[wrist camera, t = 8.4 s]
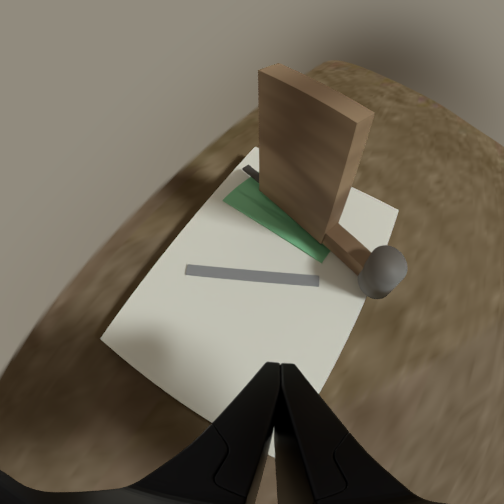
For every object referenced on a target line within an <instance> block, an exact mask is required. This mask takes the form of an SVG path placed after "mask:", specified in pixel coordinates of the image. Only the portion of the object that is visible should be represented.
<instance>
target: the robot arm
mask: <svg viewBox="0 0 504 504" xmlns="http://www.w3.org/2000/svg"><path fill="white" fill-rule="evenodd" d="M273 429H274V448H275V464H276V480H277V497H278V504H446V503H438V502H432V501H428V500H425V499H423V498H421V497H419V496H417V495H415V494H414V493H412V492H411V491H410V490H408V489H407V488H406V487H405V486H404V485H403V484H401V483H400V482H399V481H398V480H397V479H396V478H394V477H393V476H392V475H391V474H390V473H389V472H388V471H386V470H385V469H384V468H383V467H382V466H381V465H380V464H379V463H378V462H377V461H375V460H374V459H373V458H372V457H371V456H370V455H369V454H368V453H367V452H366V451H365V450H364V448H363V447H362V446H361V445H360V444H359V443H358V442H357V441H356V439H355V438H354V437H353V436H352V435H351V433H349V431H348V430H347V429H346V427H345V426H344V425H343V424H342V422H341V421H340V420H339V419H338V418H337V416H336V415H335V414H334V413H333V411H332V410H331V409H330V408H329V406H328V405H327V404H326V403H325V401H324V400H323V399H322V398H321V396H320V395H319V394H318V393H317V391H316V390H315V389H314V388H313V386H312V385H311V384H310V383H309V381H308V380H307V379H306V378H305V376H304V375H303V374H302V372H301V371H300V370H299V369H298V367H297V366H296V365H295V364H293V363H281V364H280V363H278V362H266V363H265V364H264V365H263V366H262V367H261V368H260V370H259V371H258V372H257V373H256V374H255V375H254V377H253V378H252V379H251V380H250V381H249V382H248V384H247V385H246V386H245V387H244V388H243V389H242V390H241V392H240V393H239V394H238V395H237V396H236V397H235V398H234V399H233V401H232V402H231V403H230V404H229V405H228V406H227V407H226V408H225V409H224V410H223V412H222V413H221V414H220V415H219V416H218V417H217V418H216V419H215V420H214V421H213V422H212V425H209V426H208V428H207V429H206V430H205V431H204V432H203V433H202V434H201V435H200V436H199V437H198V438H197V439H195V440H194V441H193V442H192V443H191V444H190V445H189V446H188V447H186V448H185V449H184V450H182V451H181V452H180V453H179V454H177V455H176V456H175V457H173V458H172V459H171V460H169V461H168V462H166V463H165V464H163V465H162V466H161V467H159V468H158V469H156V470H155V471H153V472H152V473H150V474H149V475H147V476H146V477H144V478H143V479H141V480H140V481H138V482H136V483H134V484H132V485H129V486H127V487H123V488H119V489H111V490H100V491H86V492H44V491H39V490H35V489H32V488H29V487H26V486H24V485H22V484H21V483H19V482H17V481H16V480H14V479H13V478H12V477H10V476H9V475H7V474H6V473H4V472H3V471H1V470H0V504H255V501H256V497H257V493H258V490H259V486H260V482H261V479H262V475H263V471H264V467H265V463H266V460H267V456H268V452H269V448H270V443H271V439H272V435H273Z"/></svg>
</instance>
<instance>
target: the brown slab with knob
mask: <svg viewBox="0 0 504 504" xmlns="http://www.w3.org/2000/svg"><path fill="white" fill-rule="evenodd" d="M258 90H259V91H258V92H259V94H258V95H259V172H257V171H256V170H255V169H254V168H252V167H251V166H250V165H247V166H245V167H243V168H242V170H243V171H244V172H246V173H247V174H248V175H249V176H251V177H252V178H253V179H254V180H255V181H257V182H258V183H259V191H261V192H262V193H263V194H264V195H265V196H267V197H268V198H269V199H270V200H271V201H272V202H274V203H275V204H276V205H277V206H278V207H279V208H281V209H282V210H283V211H284V212H285V213H286V214H287V215H289V216H290V217H291V218H292V219H293V220H294V221H295V222H297V223H298V224H299V225H300V226H301V227H302V228H303V229H305V230H306V231H307V232H308V233H309V234H310V235H311V236H312V237H313V238H315V239H316V240H317V241H318V242H319V243H320V244H322V243H323V244H324V245H325V246H326V247H327V248H328V249H329V250H330V251H331V252H332V253H334V254H335V255H336V256H337V257H338V258H339V259H340V260H341V261H342V262H343V263H344V264H345V265H347V266H348V267H349V268H350V269H351V270H352V271H353V272H354V273H355V274H356V275H357V276H358V285H359V287H360V289H361V291H362V292H363V293H364V294H365V295H366V296H368V297H370V298H373V299H381V298H384V297H386V296H387V295H388V294H389V293H390V292H391V291H392V290H393V289H394V288H395V287H396V286H397V285H398V284H399V283H400V282H401V281H402V280H403V278H404V277H405V276H406V273H407V262H406V260H405V258H404V256H403V255H402V253H401V252H400V251H399V250H397V249H396V248H394V247H391V246H387V245H383V246H379V247H377V248H375V249H374V250H373V251H372V252H370V251H369V250H368V249H367V248H366V247H365V246H364V245H363V244H362V243H360V242H359V241H358V240H357V239H356V238H355V237H354V236H353V235H351V234H350V233H349V232H348V231H347V230H346V229H344V228H343V227H342V226H341V225H340V224H339V220H340V217H341V215H342V212H343V209H344V206H345V204H346V201H347V198H348V195H349V192H350V189H351V186H352V184H353V181H354V178H355V175H356V172H357V169H358V166H359V163H360V160H361V156H362V153H363V150H364V147H365V144H366V141H367V137H368V134H369V131H370V128H371V124H372V121H373V118H374V114H375V113H374V112H372V111H371V110H369V109H367V108H366V107H364V106H362V105H361V104H359V103H357V102H356V101H354V100H352V99H350V98H349V97H347V96H345V95H343V94H341V93H339V92H338V91H336V90H334V89H332V88H330V87H328V86H326V85H324V84H322V83H320V82H318V81H316V80H314V79H312V78H310V77H308V76H306V75H304V74H302V73H300V72H298V71H295V70H293V69H291V68H289V67H286V66H284V65H282V64H279V63H277V64H274V65H271V66H269V67H266V68H263V69H260V70H258Z"/></svg>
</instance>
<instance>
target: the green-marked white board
mask: <svg viewBox="0 0 504 504" xmlns="http://www.w3.org/2000/svg"><path fill="white" fill-rule="evenodd" d="M247 165H250V166H251V167H252V168H254V169H255V170H256V171H257V172H259V148H257V147H254V148H253V149H252V151H251V152H250V153H249V154H248V155H247V156H246V157H245V158H244V159H243V160H242V162H241V163H240V164H239V165H238V166H237V167H236V168H235V169H234V170H233V172H232V173H231V174H230V175H229V176H228V177H227V178H226V179H225V181H224V182H223V183H222V184H221V185H220V186H219V187H218V189H217V190H216V191H215V192H214V193H213V194H212V195H211V197H210V198H209V199H208V200H207V201H206V202H205V204H204V205H203V206H202V207H201V208H200V210H199V211H198V212H197V213H196V214H195V215H194V217H193V218H192V219H191V220H190V221H189V223H188V224H187V225H186V226H185V228H184V229H183V230H182V231H181V232H180V234H179V235H178V236H177V237H176V239H175V240H174V241H173V242H172V244H171V245H170V246H169V247H168V248H167V250H166V251H165V252H164V254H163V255H162V256H161V257H160V259H159V260H158V261H157V262H156V264H155V265H154V266H153V268H152V269H151V270H150V271H149V273H148V274H147V275H146V277H145V278H144V279H143V281H142V282H141V283H140V284H139V286H138V287H137V288H136V290H135V291H134V292H133V294H132V295H131V296H130V298H129V299H128V301H127V302H126V303H125V305H124V306H123V307H122V309H121V310H120V311H119V313H118V314H117V316H116V317H115V318H114V320H113V321H112V323H111V324H110V325H109V327H108V328H107V330H106V331H105V332H104V334H103V335H102V337H101V338H100V339H101V340H102V341H103V342H104V343H105V344H107V345H108V346H109V347H110V348H111V349H112V350H113V351H115V352H116V353H117V354H118V355H119V356H121V357H122V358H123V359H124V360H125V361H127V362H128V363H129V364H130V365H131V366H133V367H134V368H135V369H136V370H138V371H139V372H140V373H141V374H143V375H144V376H145V377H147V378H148V379H149V380H151V381H152V382H153V383H154V384H156V385H157V386H159V387H160V388H161V389H163V390H164V391H165V392H167V393H168V394H169V395H171V396H172V397H174V398H175V399H177V400H178V401H179V402H181V403H182V404H184V405H185V406H187V407H188V408H190V409H191V410H193V411H194V412H196V413H197V414H199V415H200V416H202V417H204V418H205V419H207V420H208V421H210V422H211V423H212V422H213V421H214V420H215V419H216V418H217V417H218V416H219V415H220V414H221V413H222V412H223V410H224V409H225V408H226V407H227V406H228V405H229V404H230V403H231V402H232V401H233V399H234V398H235V397H236V396H237V395H238V394H239V393H240V392H241V390H242V389H243V388H244V387H245V386H246V385H247V384H248V382H249V381H250V380H251V379H252V378H253V377H254V375H255V374H256V373H257V372H258V371H259V370H260V368H261V367H262V366H263V365H264V364H265V363H266V362H278V363H280V364H281V363H293V364H295V365H296V366H297V367H298V369H299V370H300V371H301V372H302V374H303V375H304V376H305V378H306V379H307V380H308V381H309V383H310V384H311V385H312V386H313V388H314V389H315V390H316V391H317V393H318V394H319V393H320V391H321V389H322V387H323V385H324V384H325V382H326V380H327V378H328V376H329V374H330V372H331V371H332V369H333V367H334V365H335V363H336V361H337V359H338V357H339V355H340V353H341V351H342V349H343V347H344V345H345V343H346V341H347V339H348V337H349V334H350V332H351V330H352V328H353V326H354V324H355V322H356V319H357V317H358V315H359V313H360V311H361V308H362V306H363V304H364V301H365V299H366V297H367V296H366V295H365V294H364V293H363V292H362V291H361V289H360V287H359V285H358V276H357V275H356V274H355V273H354V272H353V271H352V270H351V269H350V268H349V267H348V266H347V265H345V264H344V263H343V262H342V261H341V260H340V259H339V258H338V257H337V256H336V255H335V254H334V253H332V252H331V251H330V250H329V249H328V248H327V247H326V246H325V245H324V244H323V243H322V244H320V243H319V242H318V241H317V240H316V239H315V238H313V237H312V236H311V235H310V234H309V233H308V232H307V231H306V230H305V229H303V228H302V227H301V226H300V225H299V224H298V223H297V222H295V221H294V220H293V219H292V218H291V217H290V216H289V215H287V214H286V213H285V212H284V211H283V210H282V209H281V208H279V207H278V206H277V205H276V204H275V203H274V202H272V201H271V200H270V199H269V198H268V197H267V196H265V195H264V194H263V193H262V192H261V191H259V183H258V182H257V181H255V180H254V179H253V178H252V177H251V176H249V175H248V174H247V173H246V172H244V171H243V170H242V168H243V167H245V166H247ZM398 211H399V210H397V209H395V208H393V207H391V206H389V205H387V204H385V203H383V202H381V201H379V200H377V199H375V198H373V197H371V196H369V195H367V194H365V193H363V192H361V191H359V190H357V189H355V188H352V187H351V189H350V192H349V195H348V198H347V201H346V204H345V206H344V209H343V212H342V215H341V217H340V220H339V224H340V225H341V226H342V227H343V228H344V229H346V230H347V231H348V232H349V233H350V234H351V235H353V236H354V237H355V238H356V239H357V240H358V241H359V242H360V243H362V244H363V245H364V246H365V247H366V248H367V249H368V250H369V251H370V252H372V251H373V250H374V249H375V248H377V247H379V246H383V245H387V243H388V241H389V238H390V235H391V232H392V229H393V226H394V223H395V220H396V217H397V214H398ZM268 455H270V456H272V457H274V458H275V448H274V429H273V435H272V439H271V443H270V448H269V452H268Z"/></svg>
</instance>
